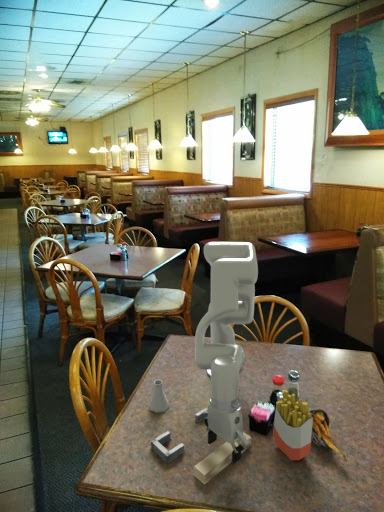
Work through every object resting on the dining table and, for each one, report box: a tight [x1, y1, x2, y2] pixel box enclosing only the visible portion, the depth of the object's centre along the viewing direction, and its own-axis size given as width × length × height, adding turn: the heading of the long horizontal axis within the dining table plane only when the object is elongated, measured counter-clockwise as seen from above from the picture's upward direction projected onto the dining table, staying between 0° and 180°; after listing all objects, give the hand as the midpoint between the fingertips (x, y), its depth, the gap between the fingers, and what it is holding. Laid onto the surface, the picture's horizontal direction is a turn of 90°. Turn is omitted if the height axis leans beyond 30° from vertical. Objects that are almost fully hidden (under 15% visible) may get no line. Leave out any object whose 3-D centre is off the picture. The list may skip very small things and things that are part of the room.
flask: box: [149, 379, 170, 414], centre depth 130 cm, size 7×7×10 cm
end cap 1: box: [150, 430, 185, 464], centre depth 111 cm, size 6×8×2 cm
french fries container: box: [272, 389, 313, 461], centre depth 108 cm, size 5×11×18 cm, turn 30°
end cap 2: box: [194, 405, 209, 423], centre depth 123 cm, size 6×8×2 cm
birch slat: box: [193, 431, 252, 485], centre depth 107 cm, size 20×4×4 cm, turn 133°
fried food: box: [308, 408, 349, 463], centre depth 112 cm, size 9×11×18 cm
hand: (224, 451), depth 107 cm, fingers open, 9 cm apart
